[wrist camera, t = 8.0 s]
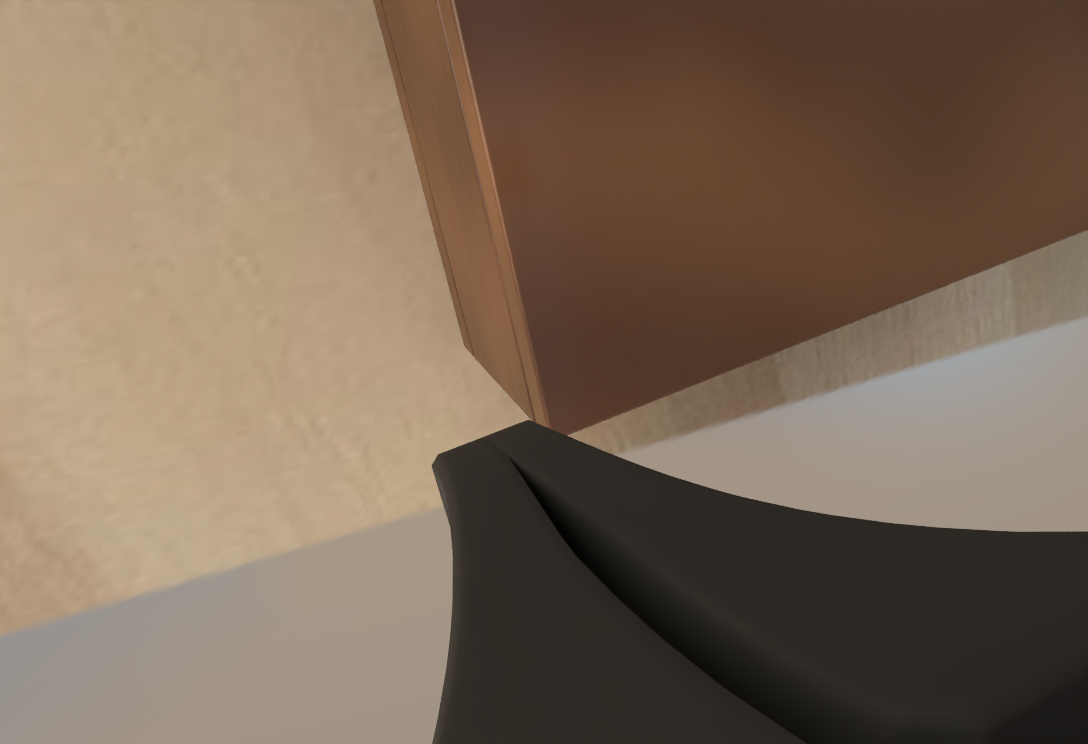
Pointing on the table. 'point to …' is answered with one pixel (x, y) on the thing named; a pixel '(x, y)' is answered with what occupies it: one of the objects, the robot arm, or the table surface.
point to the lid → (755, 171)
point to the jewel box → (453, 187)
